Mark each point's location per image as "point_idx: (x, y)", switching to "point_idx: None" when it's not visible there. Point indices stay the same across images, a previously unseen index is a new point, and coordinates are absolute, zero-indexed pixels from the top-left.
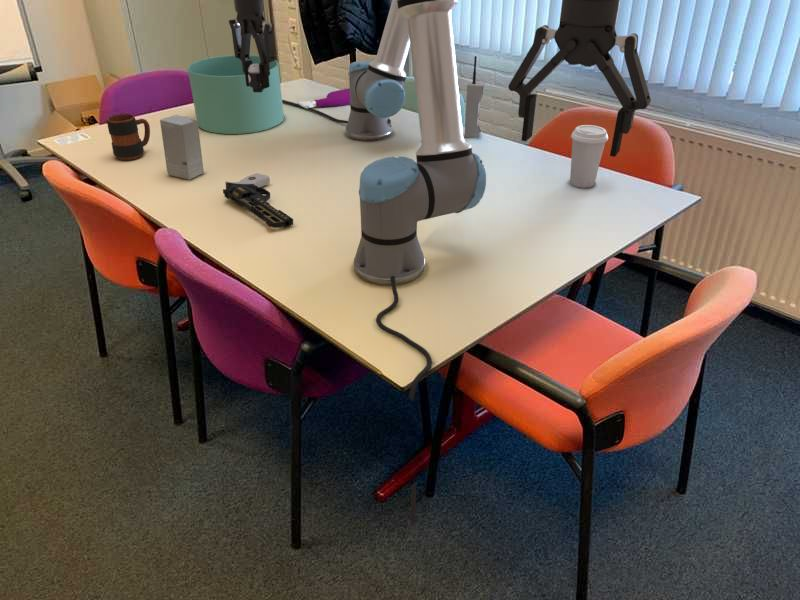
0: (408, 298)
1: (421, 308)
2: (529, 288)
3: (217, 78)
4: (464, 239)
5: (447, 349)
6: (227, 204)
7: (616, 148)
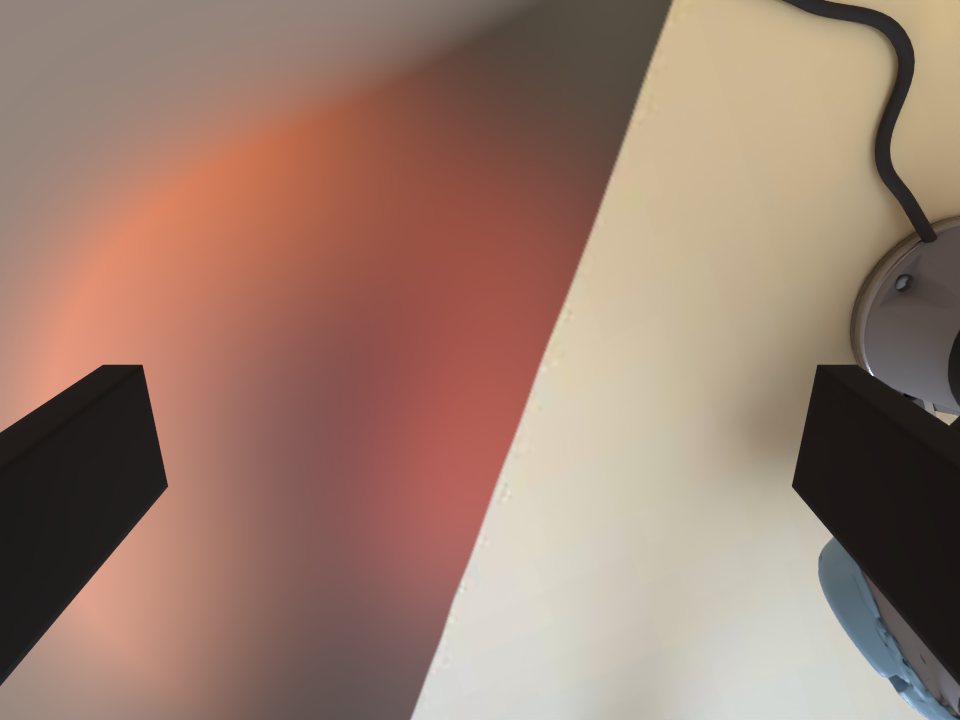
0: (852, 202)
1: (804, 176)
2: (573, 392)
3: None
4: (792, 524)
5: (680, 32)
6: None
7: (62, 392)
